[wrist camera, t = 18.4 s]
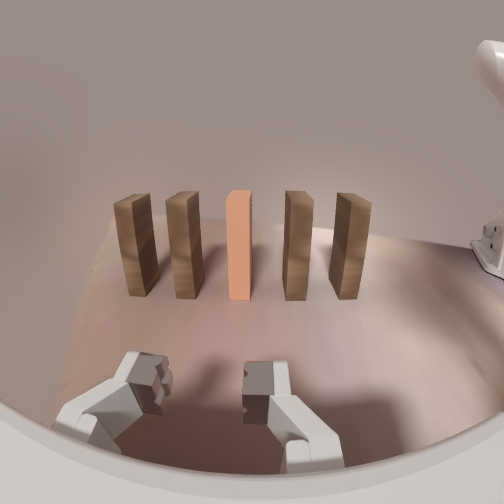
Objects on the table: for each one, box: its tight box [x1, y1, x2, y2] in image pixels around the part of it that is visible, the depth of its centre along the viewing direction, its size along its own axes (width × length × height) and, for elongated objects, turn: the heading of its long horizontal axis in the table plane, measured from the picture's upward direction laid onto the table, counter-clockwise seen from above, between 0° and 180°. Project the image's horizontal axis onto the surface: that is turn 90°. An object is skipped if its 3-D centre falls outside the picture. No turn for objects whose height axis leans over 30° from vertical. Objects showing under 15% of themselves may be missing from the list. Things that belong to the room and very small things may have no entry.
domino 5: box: [329, 193, 372, 300], centre depth 27 cm, size 2×5×10 cm, turn 179°
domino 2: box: [166, 191, 204, 299], centre depth 27 cm, size 2×5×10 cm, turn 179°
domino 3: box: [226, 190, 252, 301], centre depth 27 cm, size 2×5×10 cm, turn 177°
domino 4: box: [282, 191, 314, 301], centre depth 27 cm, size 2×5×10 cm, turn 178°
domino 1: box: [114, 193, 160, 297], centre depth 27 cm, size 2×5×10 cm, turn 179°
